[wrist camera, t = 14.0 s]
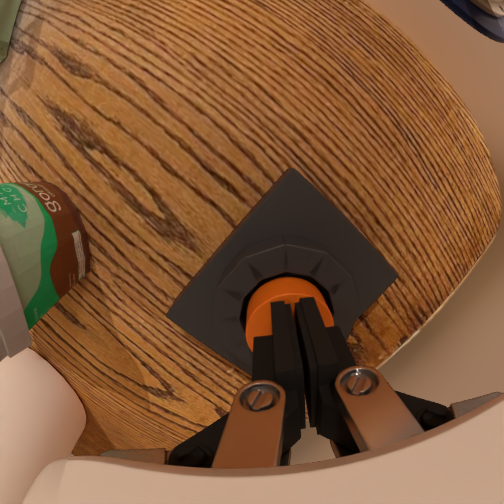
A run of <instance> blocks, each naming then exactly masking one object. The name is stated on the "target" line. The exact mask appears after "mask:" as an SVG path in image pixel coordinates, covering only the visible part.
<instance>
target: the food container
mask: <svg viewBox="0 0 504 504" xmlns="http://www.w3.org/2000/svg"><path fill="white" fill-rule="evenodd" d="M88 272H90V251H89V246H88V240H87V234H86V230H85V228H84V225H83V223H82V220H81V218H80V215H79V212H78V210H77V209H76V207H75V206H74V204H73V203H72V201H71V200H70V199H69V197H68V196H67V194H66V193H65V192H63V191H62V190H61V189H60V188H58V187H57V186H56V185H53V184H51V183H48V182H19V183H2V184H0V362H1V361H2V360H3V359H4V358H5V357H6V356H9V357H10V358H12V357H13V356H15V355H16V354H18V353H20V352H21V351H23V350H24V349H26V348H27V347H29V346H31V345H32V342H31V338H30V334H29V330H30V329H31V328H32V327H33V326H34V325H35V324H36V323H37V322H38V321H39V320H40V319H41V318H42V317H43V316H44V315H45V314H46V313H47V311H48V310H49V309H50V308H51V307H52V306H53V305H54V304H56V303H57V302H58V301H59V300H60V299H61V298H62V297H63V296H64V295H65V294H66V293H67V292H68V291H69V290H70V289H71V288H72V287H73V286H74V285H75V284H76V283H77V282H79V281H80V280H81V279H82V278H83V277H84V276H85V275H86V274H87V273H88Z"/></svg>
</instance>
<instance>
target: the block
mask: <svg viewBox="0 0 504 504" xmlns="http://www.w3.org/2000/svg"><path fill="white" fill-rule="evenodd" d="M280 277H297V278H301V279H304V280H307V281H308V282H310V283H312V284H313V285H314V286H316V287H317V288H318V290H319V291H320V292H321V294H322V296H323V298H324V300H325V302H326V304H327V306H328V308H329V310H330V312H331V314H332V317H333V321H334V326H337V325H338V326H339V327H340V329H341V331H342V334H343V336H344V338H345V340H347V339H348V336H349V334H350V332H351V329H352V327H353V324H354V321H355V320H356V319H357V318H358V317H360V316H361V315H362V314H363V313H364V312H365V311H366V310H367V309H368V308H369V307H370V306H371V305H372V304H373V303H374V302H375V301H376V300H377V299H378V298H379V297H380V296H381V294H382V293H383V292H384V291H385V290H386V289H387V288H388V287H389V286H390V285H391V284H392V283H393V282H394V281H395V280H396V278H397V277H398V274H397V273H396V271H395V270H394V269H393V268H392V267H391V266H390V265H389V263H388V262H387V261H386V260H385V259H384V258H383V257H382V255H381V254H380V253H379V252H378V251H377V250H376V249H375V248H374V247H373V246H372V244H371V243H370V242H369V241H368V240H367V239H366V238H365V237H364V236H363V235H362V234H361V233H360V232H359V231H358V230H357V229H356V227H355V226H354V225H353V224H352V223H351V222H350V221H349V220H348V219H347V218H346V217H345V216H344V215H343V214H342V213H341V212H340V211H339V210H338V209H337V208H336V207H335V206H334V205H333V204H332V203H331V202H330V201H329V200H328V199H327V198H326V197H325V196H324V195H322V194H321V193H320V192H319V191H318V190H317V189H316V188H315V187H314V186H313V185H312V184H311V183H310V182H309V181H308V180H307V179H305V178H304V177H303V176H302V175H301V174H300V173H299V172H298V171H297V170H296V169H294V168H289V169H287V170H286V171H285V172H284V173H283V174H282V175H281V177H280V178H279V179H278V180H277V181H276V182H275V183H274V184H273V185H272V187H271V188H270V189H269V190H268V191H267V192H266V193H265V194H264V196H263V197H262V198H261V199H260V200H259V201H258V202H257V204H256V205H255V206H254V207H253V208H252V209H251V210H250V211H249V213H248V214H247V215H246V216H245V217H244V218H243V219H242V221H241V222H240V223H239V224H238V225H237V226H236V228H235V229H234V230H233V231H232V232H231V233H230V235H229V236H228V237H227V238H226V239H225V240H224V242H223V243H222V244H221V245H220V246H219V247H218V249H217V250H216V251H215V252H214V253H213V254H212V256H211V257H210V258H209V259H208V260H207V262H206V263H205V264H204V265H203V266H202V267H201V269H200V270H199V271H198V272H197V273H196V275H195V276H194V277H193V278H192V279H191V281H190V282H189V283H188V284H187V285H186V287H185V288H184V289H183V290H182V291H181V293H180V294H179V295H178V296H177V298H176V299H175V301H174V302H173V304H172V306H171V307H170V309H169V311H168V312H167V314H166V317H168V318H169V319H170V320H171V321H173V322H174V323H175V324H177V325H178V326H179V327H181V328H182V329H184V330H185V331H186V332H188V333H189V334H190V335H192V336H193V337H194V338H196V339H197V340H199V341H200V342H202V343H203V344H204V345H206V346H207V347H209V348H210V349H212V350H213V351H215V352H216V353H217V354H219V355H220V356H222V357H223V358H225V359H226V360H228V361H229V362H231V363H233V364H234V365H236V366H237V367H239V368H240V369H242V370H243V371H245V372H247V373H248V374H250V375H251V376H252V360H253V352H252V351H251V349H250V348H249V346H248V343H247V340H246V319H247V308H248V304H249V301H250V299H251V297H252V296H253V294H254V293H255V292H256V290H257V289H258V288H260V287H261V286H262V285H264V284H265V283H267V282H269V281H271V280H273V279H276V278H280Z"/></svg>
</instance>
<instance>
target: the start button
mask: <svg viewBox="0 0 504 504" xmlns="http://www.w3.org/2000/svg"><path fill="white" fill-rule="evenodd" d="M306 297H314V299H315V301H316V304H317V306H318V309H319V311H320V314H321V317H322V319H323V322H324V324H325V327H331V326H334V321H333V317H332V314H331V312H330V310H329V308H328V306H327V304H326V302H325V300H324V298H323V296H322V294H321V292H320V291H319V290H318V288H317V287H316V286H314V285H313V284H312V283H310V282H308V281H307V280H304V279H301V278H297V277H280V278H276V279H273V280H271V281H269V282H267V283H265V284H264V285H262V286H261V287H260V288H258V289H257V290H256V292H255V293H254V294H253V296H252V297H251V299H250V301H249V304H248V308H247V319H246V340H247V343H248V346H249V348H250V349H251V351H252V352H253V338H254V337H258V336H267V335H273V333H272V319H271V305H270V302H276V301H284V302H285V304H289V303H290V305H291V309H292V314H293V319H294V324H295V329H296V316H295V303H297V302H299V299H300V298H306ZM296 334H297V329H296Z"/></svg>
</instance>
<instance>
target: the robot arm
mask: <svg viewBox="0 0 504 504" xmlns="http://www.w3.org/2000/svg"><path fill="white" fill-rule="evenodd" d="M470 1H471V2H472V3H473V4H475V5H476V6H478V7H479V8H480V9H482V10H484V11H485V12H487V13H488V14H491V15H493V16H495V17H503V16H504V0H470ZM270 305H271V319H272V333H273V335H267V336H258V337H254V338H253V360H252V382H249V383H247V384H245V385H244V386H242V387H241V388H240V389H239V390H238V391H237V393H236V395H235V397H234V400H233V403H232V406H231V409H230V412H229V413H227V414H226V415H224V416H223V417H221V418H220V419H218V420H217V421H216V422H214V423H213V424H211V425H209V426H208V427H206V428H205V429H203V430H202V431H200V432H199V433H197V434H195V435H194V436H192V437H191V438H189V439H187V440H186V441H184V442H182V443H181V444H179V445H178V446H176V447H175V448H174V449H173V450H168V451H167V450H166V449H165V448H156V449H134V450H107V451H105V452H103V453H101V454H100V455H99V456H73V457H66V458H61V459H57V460H55V461H53V462H51V463H50V464H48V465H47V466H46V467H45V468H44V469H43V470H42V471H41V473H40V474H39V475H38V477H37V478H36V480H35V481H34V483H33V484H32V486H31V488H30V489H29V491H28V493H27V495H26V497H25V499H24V501H23V503H22V504H504V393H501V392H494V393H491V394H487V395H484V396H480V397H476V398H473V399H469V400H465V401H461V402H456V403H452V404H451V405H450V407H448V408H447V407H446V406H444V405H441V404H438V403H435V402H431V401H427V400H424V399H421V398H417V397H414V396H410V395H407V394H404V393H401V392H398V391H395V390H393V388H392V387H391V386H390V385H389V383H388V382H387V381H386V379H385V378H384V377H383V375H382V374H381V373H380V372H379V371H378V370H376V369H374V368H372V367H369V366H365V365H356V363H355V360H354V358H353V356H352V354H351V351H350V349H349V347H348V345H347V342H346V340H345V338H344V336H343V334H342V331H341V329H340V327H339V326H338V325H337V326H331V327H325V324H324V322H323V319H322V317H321V314H320V311H319V309H318V306H317V304H316V301H315V299H314V297H306V298H300V299H299V302H297V303H295V316H296V329H297V334H296V329H295V324H294V319H293V314H292V309H291V305H290V303H289V304H285V302H284V301H276V302H270ZM305 399H306V405H307V410H308V417H309V423H310V427H316V429H317V434H318V435H319V434H320V435H322V436H324V437H326V438H328V439H330V444H331V447H332V449H333V452H334V454H335V456H336V458H335V459H330V460H324V461H318V462H312V463H305V464H298V465H290V458H291V447H292V446H293V445H294V444H295V443H296V442H297V441H298V440H299V439H300V438H301V429H304V428H305V427H306V425H305Z"/></svg>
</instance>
